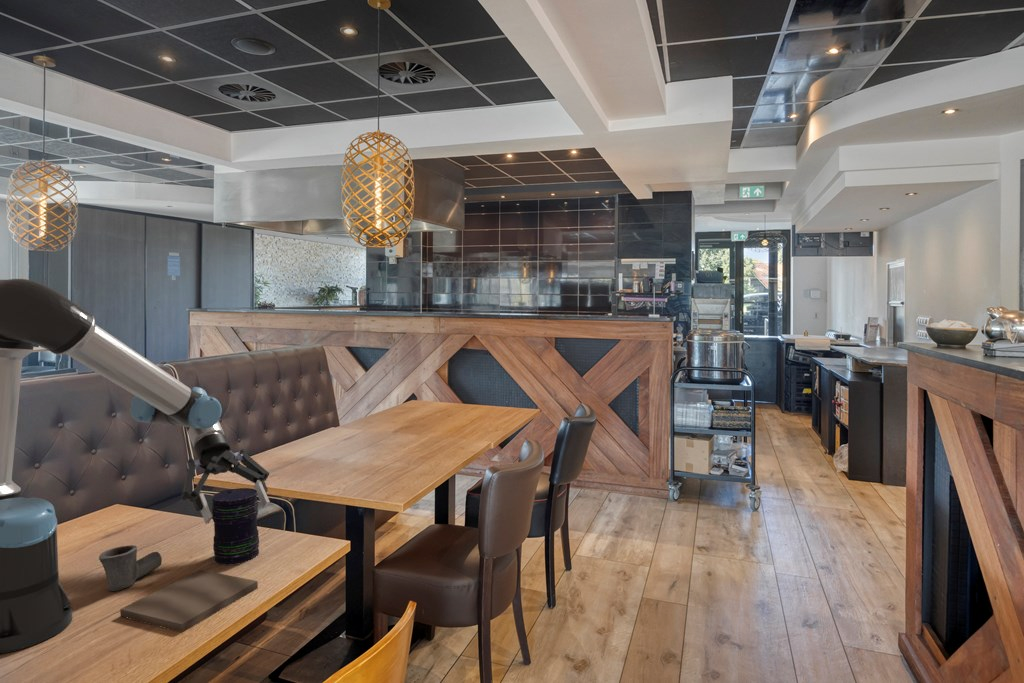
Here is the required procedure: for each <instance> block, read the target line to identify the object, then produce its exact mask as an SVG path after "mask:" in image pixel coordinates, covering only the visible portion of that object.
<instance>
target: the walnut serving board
mask: <svg viewBox="0 0 1024 683" xmlns="http://www.w3.org/2000/svg"><path fill="white" fill-rule="evenodd" d="M258 583H259V582H258V580H253V579H248V578H243V577H239V576H233V575H229V574H223V573H218V572H214V571H209V570H203V569H199V570H197V571H195V572H193V573H191V574H189V575H187V576H185V577H183V578H181V579H179V580H177V581H175V582H173V583H170V584H168V585H167V586H165V587H162V588H161V589H158V590H156V591H154V592H152V593H150V594H148V595H146V596H145V597H142V598H139V599H137V600H135V601H134V602H132V603H129V604H128V605H125V606H124V607H121V608H120V609H119V613H120V617H121V616H124V617H128V618H131V619H130V620H132V619H134V620H133V621H136V620H137V621H136V622H140V621H142V622H141V623H143V622H146V623H145V624H147V623H150V624H149V625H151V624H154V625H153V626H155V625H157V627H159V626H162V627H161V628H163V627H165V628H164V629H167V628H169V629H168V630H171V629H172V631H176V632H180V633H184V632H185V631H187V630H189V629H190V628H192V627H194V626H195V624H196V625H197V624H199V623H201V622H202V621H204V620H206V619H208V618H209V617H211V616H213V615H214V614H216V613H218V612H220V611H221V610H223V609H225V608H226V607H228V606H229V604H230V605H231V604H233V603H234V602H236V600H237V601H238V600H240V599H242V598H243V597H245V596H247V595H248V594H251V593H252V592H254V591H255V590H257V589H258V588H259V587H258V586H259V585H258ZM241 597H242V598H241ZM232 602H233V603H232ZM225 606H226V607H225ZM224 607H225V608H224ZM222 608H223V609H222ZM220 609H221V610H220ZM217 611H218V612H217ZM212 614H213V615H212ZM124 617H123V618H124ZM128 618H127V619H128ZM200 621H201V622H200ZM198 622H199V623H198ZM193 625H194V626H193Z"/></svg>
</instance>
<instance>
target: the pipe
mask: <svg viewBox="0 0 1024 683" xmlns="http://www.w3.org/2000/svg"><path fill="white" fill-rule="evenodd" d="M137 551H138V546H137V545H132V544H131V545H121V546H118V547H117V546H116V547H113V548H110V549H107V550H105V551H104V552H101V553H100V555H99V556H98V560H99V562H100V563H101V565H102V568H103V569H104V573H105V578H106V580H107V588H108V590H109V591H110V592H111V591H112V592H116V591H121V590H125V589H127V588H129V587H131V586H132V585H133V586H134V584H135V583H136V580H139V579H140V578H143V577H144V576H146V575H148V574H150V573H152V572H153V571H154V570H156V569H158V568H160V567H161V566H162V559H163V558H162V555H161V554H160V552H158V551H153V552H150V553H148V554H147V555H145V556H143V557H141V558H139V559H137V554H138V552H137ZM124 588H125V589H124Z"/></svg>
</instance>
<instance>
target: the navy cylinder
mask: <svg viewBox="0 0 1024 683" xmlns="http://www.w3.org/2000/svg"><path fill="white" fill-rule="evenodd" d="M211 501H212V503H211V504H212V505H211V506H212V507H211V515H212V518H211V519H212V521H213V526H214V531H213V532H214V536H213V543H212V544H213V545H212V546H213V552H214V553H213V554H214V558H213V560H215V561H214V563H216V564H217V563H218V564H217V565H221V564H225V565H224V566H230V565H229V564H234V565H238V564H237V563H240V564H242V562H244V563H246V562H245V561H247V562H249V561H248V560H250V561H252V560H254V559H256V558H257V557H258V556H259V555H260V549H259V547H260V546H259V545H260V536H259V529H258V515H259V509H258V508H259V501H258V495H257V490H255V488H247V487H239V488H231V489H226V490H222V491H219V492H217V493H215V494H213V495H212V496H211ZM256 556H257V557H256ZM253 558H254V559H253ZM251 559H252V560H251Z"/></svg>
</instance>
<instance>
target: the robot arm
mask: <svg viewBox="0 0 1024 683" xmlns="http://www.w3.org/2000/svg"><path fill="white" fill-rule="evenodd" d="M95 322H96V321H95V316H93V315H92V314H91V313H89V312H88V311H86V310H85V309H84V308H82V307H81V306H79V305H78V304H76V303H75V302H74V301H72V300H70V299H69V298H68V297H66V296H64V295H62V294H61V293H59V292H57V291H56V290H54V288H51V287H49V286H48V285H45V284H43V283H41V282H38V281H35V280H31V279H26V278H10V279H0V655H1V654H6V653H11V652H15V651H18V650H22V649H25V648H28V647H31V646H34V645H37V644H39V643H42V642H44V641H47V640H48V639H50V638H52V637H54V636H56V635H58V634H59V633H61V632H63V631H64V630H65V629H66V628H68V627H69V625H70V624H71V623H72V621H73V616H74V615H73V606H72V603H71V602H70V599H69V598H68V595H67V594H66V592H65V590H64V588H63V586H62V584H61V582H60V577H59V555H58V554H59V552H58V548H59V547H58V530H57V529H58V518H57V516H56V509H55V506H54V505H53V504H52V503H51V502H50V501H48V500H46V499H45V498H39V497H32V496H31V497H28V498H27V497H26V498H25V497H22V496H21V494H22V490H21V489H22V487H20V486H19V485H17V483H15V482H14V481H13V470H14V457H15V446H16V434H17V425H18V424H17V423H18V414H19V413H18V412H19V403H20V401H19V400H20V392H21V378H22V369H23V359H25V357H27V356H28V355H30V354H31V353H32V352H34V346H35V345H36V346H39V347H41V348H43V349H46V350H47V351H49V352H51V353H53V354H54V355H57V356H60V355H67V356H68V357H70V358H72V359H73V360H75V361H77V362H78V363H80V364H82V365H83V366H85V367H87V368H88V369H90V370H91V371H93V372H95V373H96V374H99V375H100V376H102V377H103V378H105V379H106V380H109V381H110V382H112V383H114V384H115V385H117V386H119V387H120V388H122V389H123V390H125V391H127V392H128V393H130V394H131V395H134V397H133V398H132V400H131V403H130V404H131V405H130V415H131V417H132V419H133V420H135V422H138V423H145V424H162V425H167V426H169V425H170V426H175V427H176V426H178V427H183V428H185V429H186V431H187V432H186V433H187V434H188V436H189V440H190V442H191V445H192V446H193V449H194V452H195V455H196V457H197V459H196V460H195V459H193V458H189V459H188V461H187V463H186V465H185V469H186V475H185V480H184V481H185V482H184V485H183V489H182V492H181V500H183V501H186V500H189V501H190V502H191V503H193V507H194V509H195V511H196V512H199V511H200V514H201V515H202V518H203V520H204V523H205V525H207V524H210V523H211V520H212V519H213V518H212V517H213V514H212V511H211V509H210V508H209V505H208V504H209V503H208V502H207V499H206V497H205V494H204V493H203V492H201V491H202V489H203V487H204V485H205V484H206V481H207V479H208V478H209V476H210V474H211V475H214V476H216V475H219V474H220V473H221V474H223V473H224V474H225V473H228V472H230V473H232V474H236V475H238V476H239V477H240V476H241V477H242V478H244V479H246V480H248V481H249V482H252V483H254V485H253V489H255V490H257V498H258V499H259V502H260V504H261V506H262V509H266V508H267V507H268V505H269V503H270V502H271V501H270V499H269V497H268V495H267V493H268V487H267V485H266V481H267V479H268V477H269V476H270V472H269V471H268V470H267V469H265V468H264V467H263V466H261V465H260V464H259V463H258V462H257V461H256V460H254V459H253V458H252V457H251V456H250V455H249V454H248V453H247V451H246V449H244V448H241V449H240V451H237V452H233V451H232V450H231V446H230V443H229V441H228V439H227V437H226V435H225V431H224V429H223V428H222V425H221V423H220V420H221V417H222V413H223V409H222V405H221V402H220V401H219V400H218V399H217V398H215V397H213V396H209V395H208V394H207V391H206V390H205V389H204V388H201V387H199V386H193V387H190V386H187V385H186V384H185V383H183V382H181V381H180V380H178V379H177V378H176V377H175V376H173V375H172V374H170V373H168V372H167V371H166V370H164V369H162V368H161V367H159V366H158V365H156V364H155V363H154V362H152V361H151V360H149V359H148V358H146V357H144V356H143V355H141V354H140V353H138V352H137V351H136V350H135V349H132V348H131V347H129V346H128V345H127V344H126V343H124V342H122V341H121V340H120V339H118V338H116V337H115V336H114V335H112V334H111V333H109V332H107V330H105V329H103V328H102V327H100V326H98V325H97V324H96V323H95ZM240 462H241V463H240ZM198 466H199V467H200V468H201V469H203V470H204V472H203V473H202V476H201V477H200V479H199V481H198V482H197V485H196V486H195V487H194V490H191V488H192V484H193V481H194V476H195V470H197V468H198ZM200 492H201V493H200Z"/></svg>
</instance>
